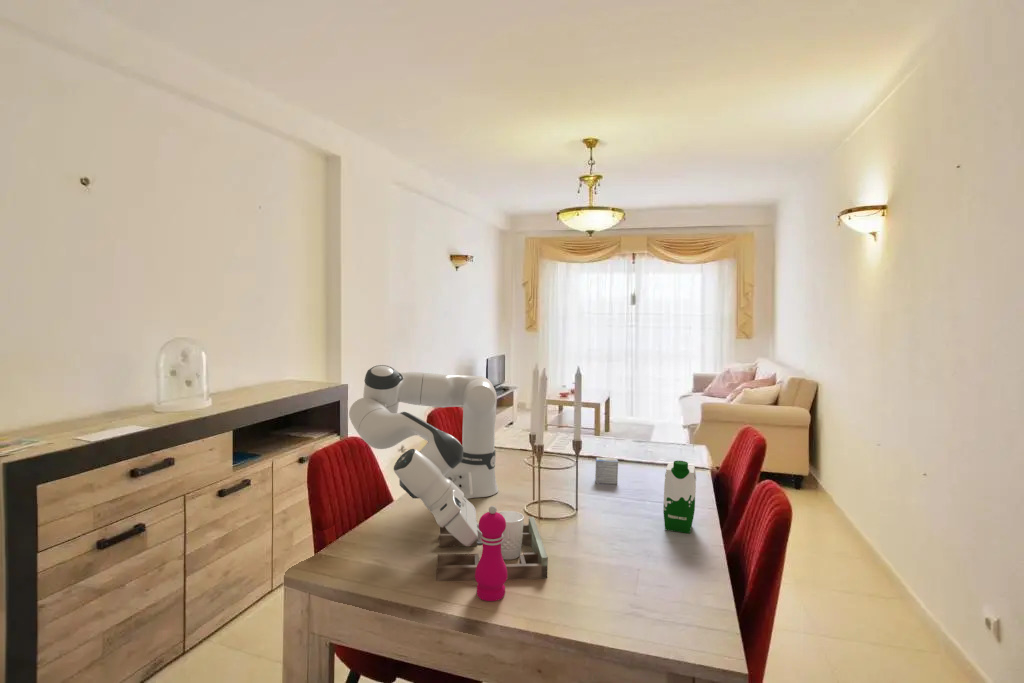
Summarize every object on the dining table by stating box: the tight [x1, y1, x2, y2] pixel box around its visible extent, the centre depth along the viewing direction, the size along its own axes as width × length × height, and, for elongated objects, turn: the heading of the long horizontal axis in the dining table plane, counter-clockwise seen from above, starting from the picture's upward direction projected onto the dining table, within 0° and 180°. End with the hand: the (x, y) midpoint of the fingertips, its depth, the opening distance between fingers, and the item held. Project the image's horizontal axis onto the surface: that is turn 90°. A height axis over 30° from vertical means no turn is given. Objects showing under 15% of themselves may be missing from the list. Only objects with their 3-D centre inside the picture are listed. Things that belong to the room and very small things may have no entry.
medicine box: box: [594, 457, 619, 485], centre depth 204 cm, size 8×4×9 cm, turn 84°
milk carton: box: [662, 460, 697, 535], centre depth 163 cm, size 9×9×20 cm
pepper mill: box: [474, 505, 508, 602], centre depth 122 cm, size 7×7×20 cm
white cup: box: [497, 510, 525, 560], centre depth 143 cm, size 8×8×10 cm
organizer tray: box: [435, 516, 549, 581], centre depth 142 cm, size 26×25×5 cm
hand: (484, 539), depth 142 cm, fingers closed
